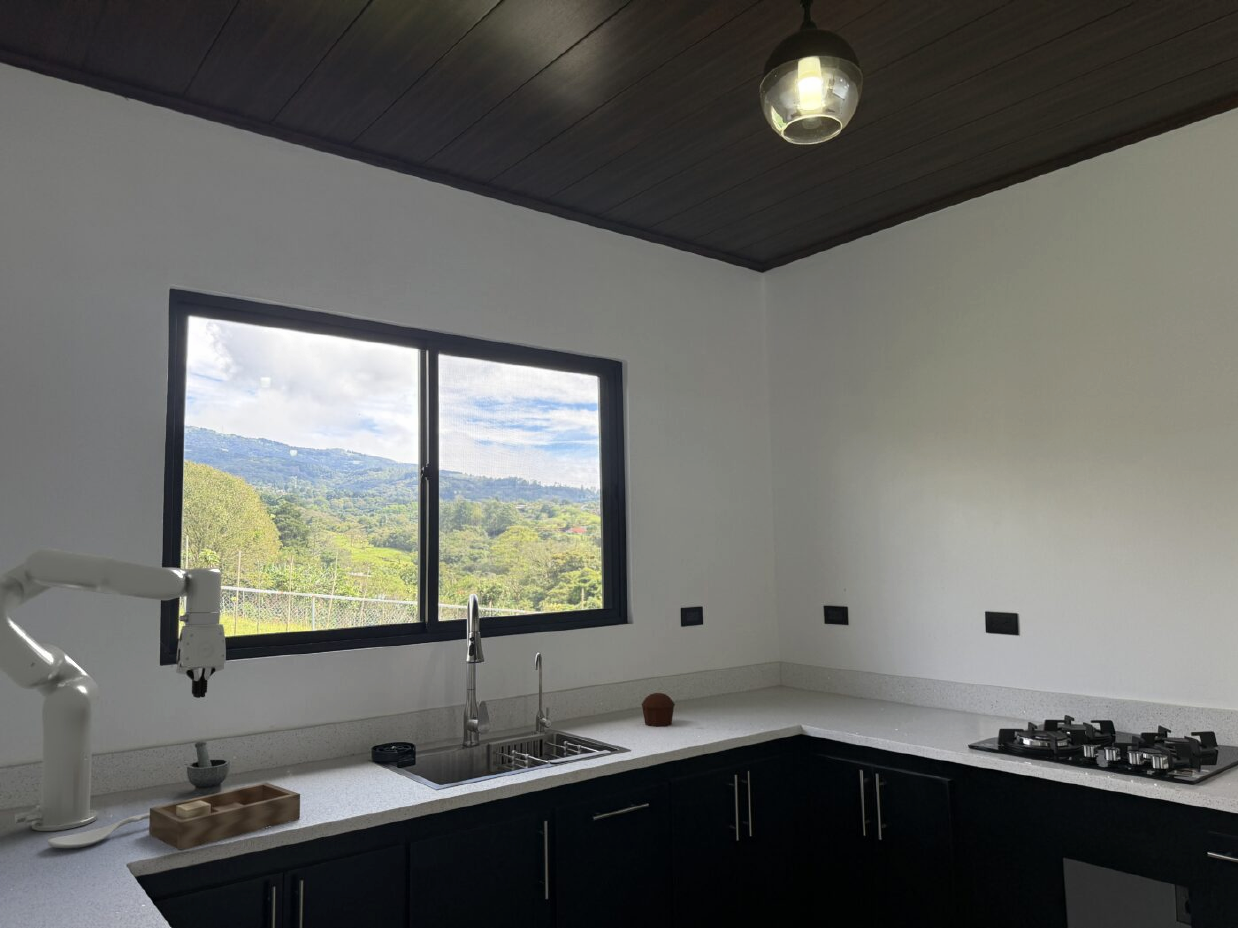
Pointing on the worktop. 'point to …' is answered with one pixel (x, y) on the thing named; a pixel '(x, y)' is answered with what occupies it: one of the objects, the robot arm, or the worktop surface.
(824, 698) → the worktop surface
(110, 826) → the spoon
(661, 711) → the muffin
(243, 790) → the box
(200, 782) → the mortar and pestle
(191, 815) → the maple block
